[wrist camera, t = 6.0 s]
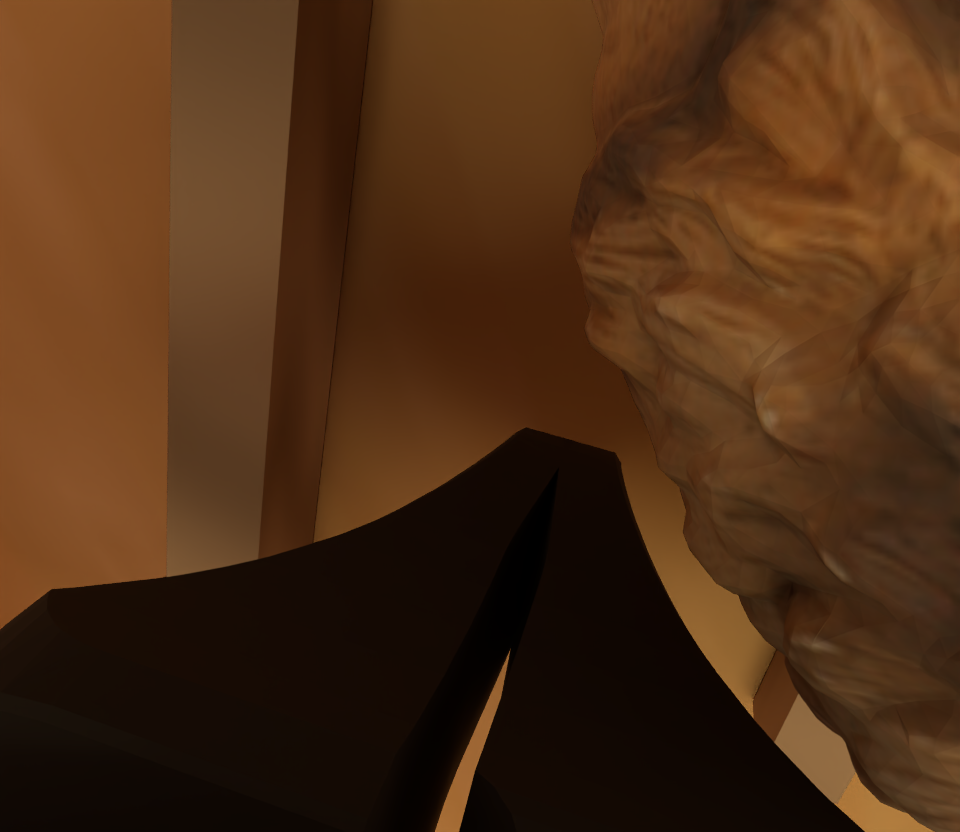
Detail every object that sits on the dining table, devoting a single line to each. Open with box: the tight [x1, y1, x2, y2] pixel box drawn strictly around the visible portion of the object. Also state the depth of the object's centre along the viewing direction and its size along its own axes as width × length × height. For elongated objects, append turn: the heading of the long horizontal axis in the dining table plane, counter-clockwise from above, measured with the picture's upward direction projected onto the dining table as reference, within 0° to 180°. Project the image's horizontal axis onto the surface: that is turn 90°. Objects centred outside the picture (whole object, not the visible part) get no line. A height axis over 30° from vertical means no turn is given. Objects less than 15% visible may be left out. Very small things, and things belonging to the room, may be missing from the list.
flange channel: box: [166, 0, 856, 804], centre depth 9 cm, size 22×11×2 cm, turn 169°
